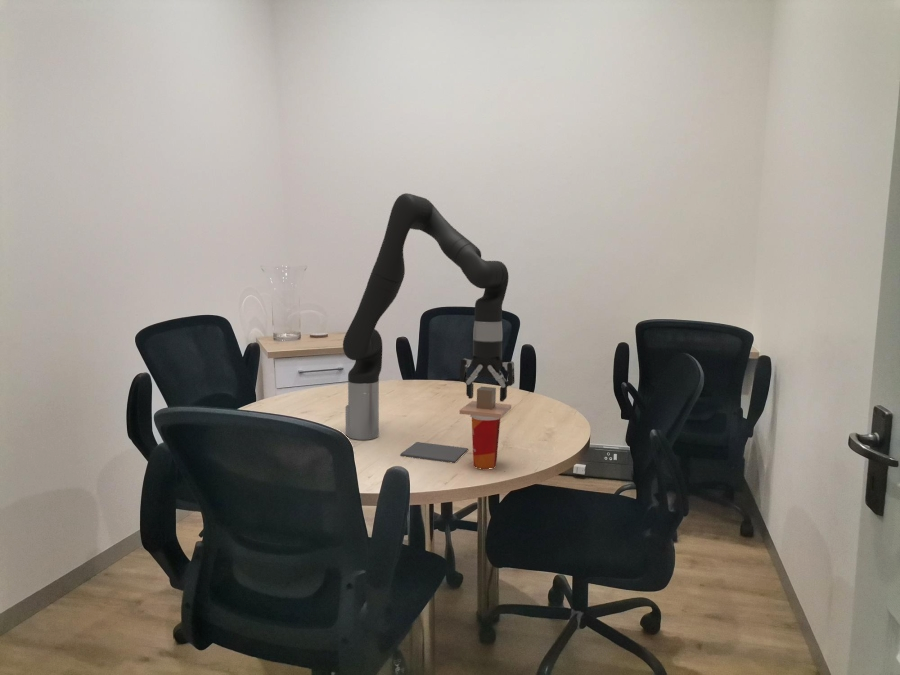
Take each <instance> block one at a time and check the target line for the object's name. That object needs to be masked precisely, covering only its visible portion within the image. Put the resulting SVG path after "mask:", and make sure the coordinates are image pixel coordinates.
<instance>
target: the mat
mask: <svg viewBox="0 0 900 675" xmlns="http://www.w3.org/2000/svg"><path fill="white" fill-rule="evenodd" d="M467 450H468V451H469V447H461V446H460V447H459V446H454V445H453V446H451V445H444V444H438V443H437V444H436V443H429V442H422V441H421V442H420V441H416V442H415V443H413V444H412V445H410V446H408V448H406V449H405V450H404V451H402V452H401V453H400V454H399V456H400V457H404V456H406V457H407V458H412V457H413V458H414V459H419V458H420V460H429V461H435V462H436V461H437V462H442V461H443V462H442V463H444V462H445V463H450V462H452V463H451V464H456V463H457V462H458V461H459V460H460V459H461V458H462V457H463V456H464V455H465V454H466V453H467V452H468V451H467ZM466 451H467V452H466ZM465 452H466V453H465ZM464 453H465V454H464ZM463 454H464V455H463ZM462 455H463V456H462ZM461 456H462V457H461ZM460 457H461V458H460ZM459 458H460V459H459ZM458 459H459V460H458ZM457 460H458V461H457ZM456 461H457V462H456ZM455 462H456V463H455Z"/></svg>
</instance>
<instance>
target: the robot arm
mask: <svg viewBox="0 0 900 675" xmlns="http://www.w3.org/2000/svg"><path fill="white" fill-rule="evenodd" d="M410 230H414V231H415V230H416V231H421V232H423V233H425V234H427V235H428V236H430V237H432V238H433V239H434V240H435V241H436V242H437V244H438V246H439V248H440V249H441V251H442V252H443V254H444V255H445V256H446V257H447V258H448V259H449V260H451V262H453V263H454V264H455V265H456V266H457V267H459V268H460V270H461V272H462V274H464V276H465V277H466V279H467V280H468V281H469V283H470V284H471V285H473V286H474V287H476V288H479V289H484V292H483V295H482V297H479V298H478V299H476V301H475V304H474V323H473V332H472V333H473V336H472V337H473V338H472V341H473V342H472V359H468V358H466V357H465V358H462V359H461V360H460V367H459V368H460V369H459V370H460V371H459V381H460V382H462V383H464V384H466V385H465V386H466V388H465V389H466V392H465V393H466V397H467V398H468V399H473V398H474V383H473V382H474V381H475V380H476V379H477V377H478V376H479V377H480V378H485V377H486V378H490V379H492V378H494V379H495V381H496V382H498V384H499V386H500V388H499V402H502V403H503V402H505V400H506V399H507V396H508V387H512V386H513V385H514V384H515V381H516V380H515V363H514V361H509V362H508V361H507V362H505V361H503V338H504V337H503V336H504V334H503V323H502V322H503V321H502V320H503V304H504V303H503V302H504V299H505V296H506V293H507V290H508V284H509V271H508V268H507V266H506V265H505V264H504V262H502V261H499V260H485V259H483V257H482V251H481V250H480V249H479V247H478V246H476V245H475V244H474V243H473V242H472V241H471V240H469V239H468V238H467V237H465V236H464V235H463V234H461V232H459V230H457V229H455V227H454V226H453V225H451V223H450V222H448V220H446V218H445V217H444V216H443V215H442V214H441V212H440V211H439V210H438V209H437V208H436V206H435V205H434V204H433V203H432V202H431V201H430V200H429V199H427V198H425V197H422V196H419V195H415V194H411V193H406V192H405V193H402V194H400V195H399V196H398V197H397V198H396V199H395V201H394V202H393V206H392V207H391V210H390V215H389V218H388V221H387V226H386V230H385V234H384V238H383V240H382V243H381V246H380V249H379V252H378V255H377V257H376V260H375V263H374V265H373V267H372V270H371V272H370V275H369V278H368V281H367V284H366V286H365V289H364V292H363V295H362V297H361V300H360V302H359V305H358V307H357V310H356V313H355V315H354V317H353V319H352V321H351V323H350V325H349V326H348V329H347V331H346V333H345V335H344V337H343V340H342V342H343V343H342V349H343V353H344V354H345V356H346V357H347V358H348V359H349V360H352V361H355V362H354V365H353V366H352V368H351V369H350V370H349V372H348V373H347V374H348V376H347V380H348V382H347V390H348V391H347V393H348V394H347V395H348V396H347V398H348V399H347V401H348V402H347V405H346V406H345V436H346V435H347V436H348V438H350V439H352V440H357V441H367V440H368V441H369V440H374V439H377V438H378V437H379V435H380V432H379V431H380V428H379V426H380V424H379V423H380V422H379V421H380V412H379V411H380V410H379V409H380V407H379V406H380V402H379V400H380V398H379V397H380V391H379V390H380V389H379V387H380V386H379V384H380V374H381V372H382V367H383V340H382V337H381V334H380V333H379V331H378V330H377V329H376V326H377V324H378V322H379V320H380V319H381V317H382V316H383V315H384V313H385V312H386V311H387V310H388V309H389V307H391V305H392V303H393V302H394V300H395V299H396V298H397V296H398V293H399V291H400V289H401V287H402V284H403V281H404V277H405V272H406V270H405V269H406V268H405V260H404V259H405V258H404V257H405V256H404V248H405V247H404V246H405V242H406V240H407V236H408V234H409V231H410ZM470 365H471V366H472V368H473V369H474V370H473V372H472V373H471V374H470V376H469V377H468V368H469V367H470ZM502 368H504V370H505V371H506V372H507V379H506V378H505V377H504V374H503V372H502V371H501V370H502Z"/></svg>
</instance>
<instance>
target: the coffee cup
mask: <svg viewBox="0 0 900 675" xmlns="http://www.w3.org/2000/svg"><path fill="white" fill-rule="evenodd" d="M469 417H471V436H472V437H471V438H472V459H473V460H472V461H473V462H472V463H473V467H474V466H475V467H477V468H476V469H478V468H481V469H480V470H483V469H489V468H493V469H495V468H496V467H495V466H497V460H498V459H497V458H498V449H499V448H498V447H499V438H500V427H501V426H500V425H501V418H495V417H485V416H476V415H469ZM475 467H474V468H475ZM494 467H495V468H494ZM489 470H490V469H489Z"/></svg>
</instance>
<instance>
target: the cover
mask: <svg viewBox="0 0 900 675" xmlns="http://www.w3.org/2000/svg"><path fill="white" fill-rule="evenodd" d="M496 400H497V387H492V386H479V387H478V388H477V390H476V400H472V401H470V402H469V403H467V404H466V405H465V406H463V407H462V408H460V409H459V414H460V415H466V416H468V415H469V416H470V415H476V416H485V417H495V418H500V419H502V418H503V417H504V416H505V415H506V414H507V413H508V412H509V411H510V410H511V409H512V404H510V403H509V404H508V403H499V402H496Z"/></svg>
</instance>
